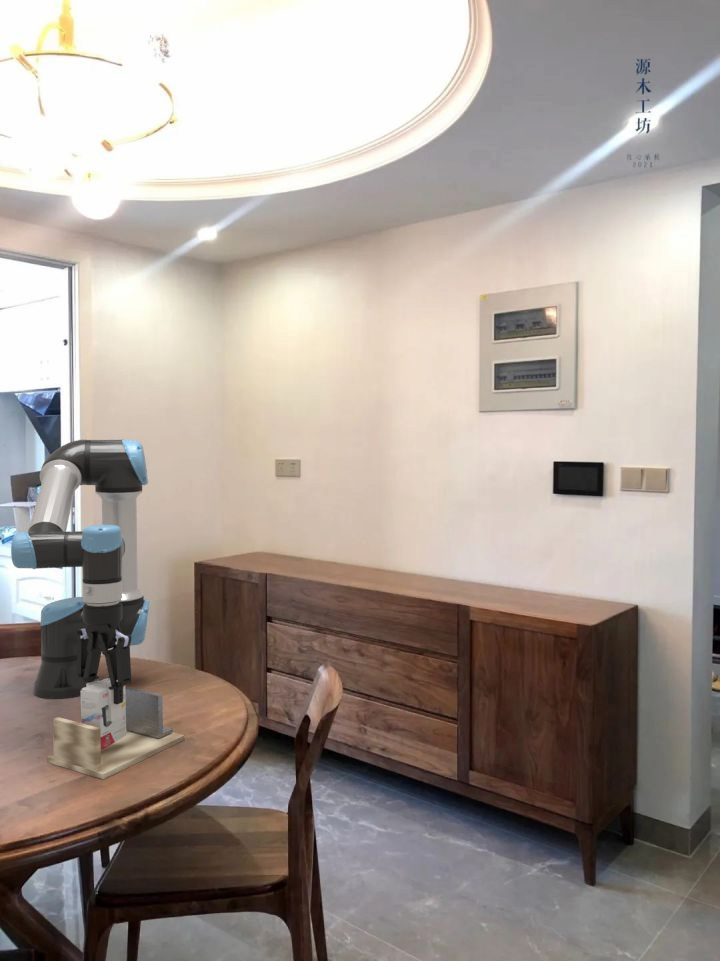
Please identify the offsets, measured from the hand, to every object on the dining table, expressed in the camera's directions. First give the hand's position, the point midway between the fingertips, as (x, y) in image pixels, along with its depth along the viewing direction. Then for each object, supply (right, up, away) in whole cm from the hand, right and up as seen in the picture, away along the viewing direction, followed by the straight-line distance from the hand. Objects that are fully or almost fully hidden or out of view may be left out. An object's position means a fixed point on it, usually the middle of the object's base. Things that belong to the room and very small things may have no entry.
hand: (104, 716), depth 150 cm
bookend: (+6, -7, +11) cm, 14 cm away
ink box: (0, -6, 0) cm, 6 cm away
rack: (+2, -8, +3) cm, 9 cm away
